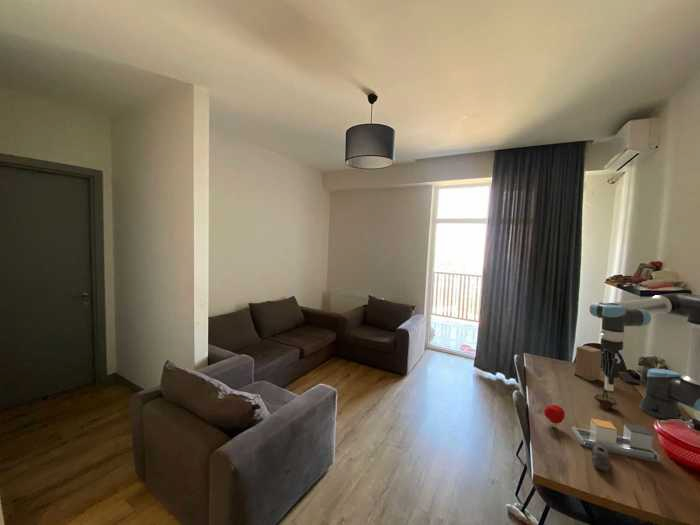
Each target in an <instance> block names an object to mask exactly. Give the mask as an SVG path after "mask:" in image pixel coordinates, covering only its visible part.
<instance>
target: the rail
mask: <svg viewBox="0 0 700 525" xmlns="http://www.w3.org/2000/svg"><path fill="white" fill-rule="evenodd" d="M571 433H572V434H573V436H574V437H575V439H576V440H577V442H578V444H579V445H580V446H581V447H585V448H589V449H593V447H594V445H595V444H596V443H598V441H594V440H592V438H591V437H590V436H589V434H590V429H586V428H579V427H576V426H574V425H573V426H572V427H571ZM653 438H654V434H653V433H652V432H651V431H649V430H648V429H647V428H646V427H645V426H641V425H640V426H639V425H634V424H629V423H623V433H622V436H619V435H617V436H616V445H613V444H608V443H603V442H601V443H603V444H604V445H605V446H606V448H607V450H608V452H609V453H613V454H617V455H621V456H622V455H623V456H626V457H631V458H635V459H639V460H645V461H649V462H654V463H659V464H660V463H661V456H660V455H659V454H658V453H657V452H656V451H655V450H654V449H653Z"/></svg>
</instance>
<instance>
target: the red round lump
mask: <svg viewBox="0 0 700 525" xmlns="http://www.w3.org/2000/svg"><path fill="white" fill-rule="evenodd" d="M543 413H544V415H545V417H546V418H547V420H549V422H550V423H549V426H551V427H552V428H556V427H557V428H558V424H561V423H562V422H563V420H564V419H565V414H566V413H565V410H564V409H563V407H562V406H560V405H558V404H553V405H547V406H546V407H545V408H544V412H543Z"/></svg>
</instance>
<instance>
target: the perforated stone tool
mask: <svg viewBox="0 0 700 525" xmlns="http://www.w3.org/2000/svg"><path fill="white" fill-rule="evenodd" d="M591 456H592V458H591V460H592V464H593V466H594V467H595V468H597V469H599V470H601V471H602V472H605V473H607V472H608V471H609V469H610V463H611V461H610V452H608V450H607V448H606V446H605V445H604V444H603V443H601V442H598V443H596V444H595V445H594V447H593V448H592V451H591Z"/></svg>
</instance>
